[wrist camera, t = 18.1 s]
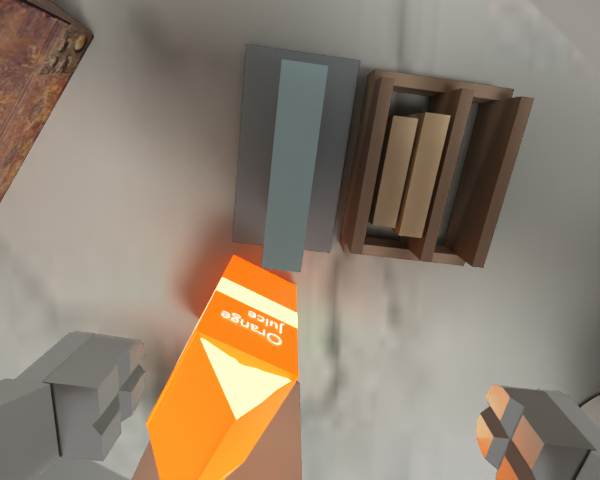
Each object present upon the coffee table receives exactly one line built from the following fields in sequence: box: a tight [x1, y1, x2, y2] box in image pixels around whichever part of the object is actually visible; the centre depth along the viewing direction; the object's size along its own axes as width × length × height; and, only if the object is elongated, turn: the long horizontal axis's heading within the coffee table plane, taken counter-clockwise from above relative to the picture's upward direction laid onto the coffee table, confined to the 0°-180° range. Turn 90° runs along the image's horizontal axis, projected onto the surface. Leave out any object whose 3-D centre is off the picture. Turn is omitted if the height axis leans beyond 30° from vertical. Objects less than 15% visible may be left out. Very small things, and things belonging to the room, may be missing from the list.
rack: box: [340, 69, 534, 268], centre depth 31 cm, size 12×16×6 cm
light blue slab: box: [261, 59, 328, 272], centre depth 26 cm, size 2×12×13 cm, turn 173°
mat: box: [233, 44, 360, 253], centre depth 33 cm, size 10×18×1 cm, turn 173°
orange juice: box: [146, 255, 299, 480], centre depth 28 cm, size 8×9×20 cm
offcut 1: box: [368, 115, 418, 228], centre depth 31 cm, size 2×9×6 cm, turn 173°
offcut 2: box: [392, 112, 451, 238], centre depth 31 cm, size 2×10×6 cm, turn 173°
